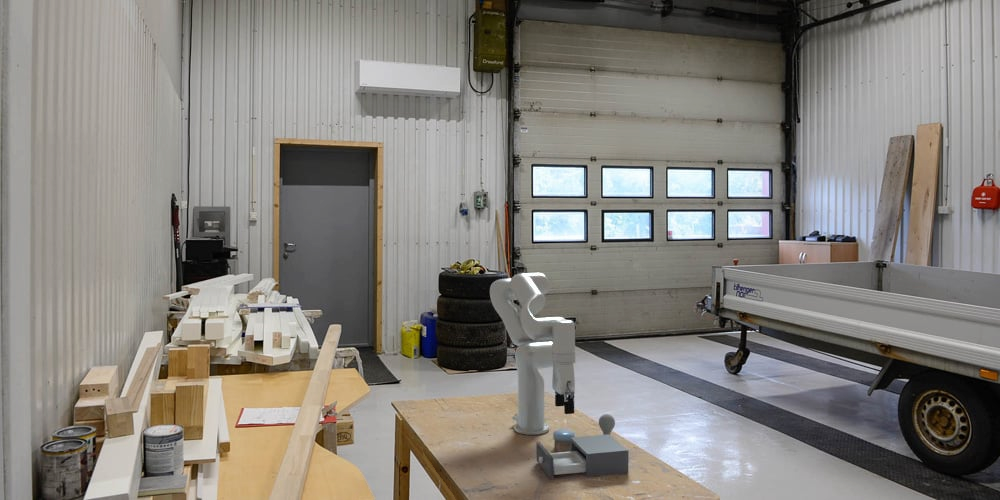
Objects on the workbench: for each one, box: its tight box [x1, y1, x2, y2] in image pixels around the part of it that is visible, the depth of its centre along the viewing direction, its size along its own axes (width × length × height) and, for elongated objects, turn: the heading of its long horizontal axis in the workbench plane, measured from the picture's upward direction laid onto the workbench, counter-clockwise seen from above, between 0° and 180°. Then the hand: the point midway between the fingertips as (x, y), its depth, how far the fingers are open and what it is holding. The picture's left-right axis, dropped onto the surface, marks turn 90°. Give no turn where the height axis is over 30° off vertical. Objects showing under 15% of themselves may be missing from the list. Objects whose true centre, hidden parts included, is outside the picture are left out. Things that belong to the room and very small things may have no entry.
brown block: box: [553, 438, 571, 453], centre depth 212 cm, size 5×5×4 cm
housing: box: [571, 433, 629, 478], centre depth 198 cm, size 15×13×7 cm
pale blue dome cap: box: [552, 429, 576, 441], centre depth 212 cm, size 7×7×2 cm
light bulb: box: [598, 413, 616, 435], centre depth 218 cm, size 6×6×10 cm
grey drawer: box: [535, 441, 586, 480], centre depth 195 cm, size 15×14×6 cm
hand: (564, 409), depth 211 cm, fingers open, 9 cm apart
